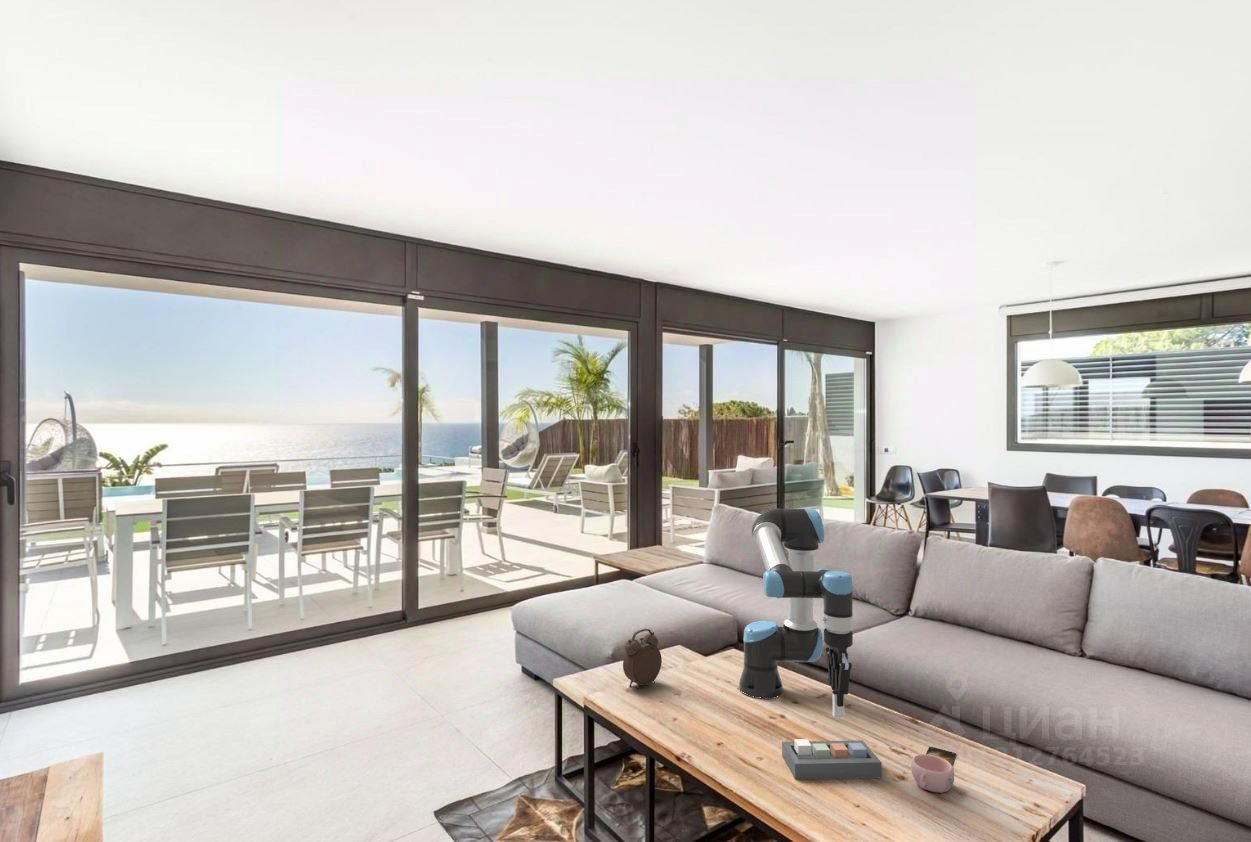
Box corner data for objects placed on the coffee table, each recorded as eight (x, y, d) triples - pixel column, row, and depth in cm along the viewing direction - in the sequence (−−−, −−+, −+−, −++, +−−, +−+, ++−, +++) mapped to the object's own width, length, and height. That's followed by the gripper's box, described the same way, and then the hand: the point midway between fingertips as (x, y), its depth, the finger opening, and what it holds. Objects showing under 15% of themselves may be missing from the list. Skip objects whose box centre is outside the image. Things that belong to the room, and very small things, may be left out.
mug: (921, 772, 168) (921, 749, 168) (960, 787, 160) (960, 763, 160) (900, 788, 160) (900, 764, 160) (941, 805, 152) (941, 780, 152)
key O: (794, 748, 172) (794, 739, 172) (807, 748, 172) (807, 739, 172) (798, 754, 168) (798, 745, 168) (811, 754, 168) (811, 745, 168)
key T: (830, 752, 172) (830, 743, 172) (843, 752, 172) (843, 743, 172) (835, 758, 169) (835, 749, 169) (848, 758, 169) (848, 749, 169)
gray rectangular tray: (782, 756, 176) (782, 741, 176) (862, 754, 177) (862, 740, 177) (795, 779, 164) (794, 763, 164) (881, 777, 165) (881, 762, 165)
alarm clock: (649, 677, 234) (649, 623, 235) (663, 683, 229) (663, 627, 229) (619, 687, 225) (619, 631, 225) (632, 693, 219) (632, 635, 220)
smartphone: (956, 753, 177) (948, 775, 165) (956, 755, 177) (948, 778, 165) (929, 745, 181) (919, 767, 169) (929, 748, 181) (919, 770, 169)
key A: (848, 751, 172) (848, 743, 172) (861, 751, 172) (861, 742, 173) (853, 758, 169) (853, 749, 169) (866, 758, 169) (866, 749, 169)
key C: (812, 752, 172) (812, 743, 172) (825, 752, 172) (825, 743, 172) (816, 759, 168) (816, 750, 168) (830, 759, 169) (829, 749, 169)
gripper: (816, 622, 178) (816, 705, 178) (833, 637, 165) (833, 727, 165) (842, 622, 178) (842, 705, 178) (861, 637, 165) (861, 727, 165)
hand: (838, 716), depth 171 cm, fingers closed
